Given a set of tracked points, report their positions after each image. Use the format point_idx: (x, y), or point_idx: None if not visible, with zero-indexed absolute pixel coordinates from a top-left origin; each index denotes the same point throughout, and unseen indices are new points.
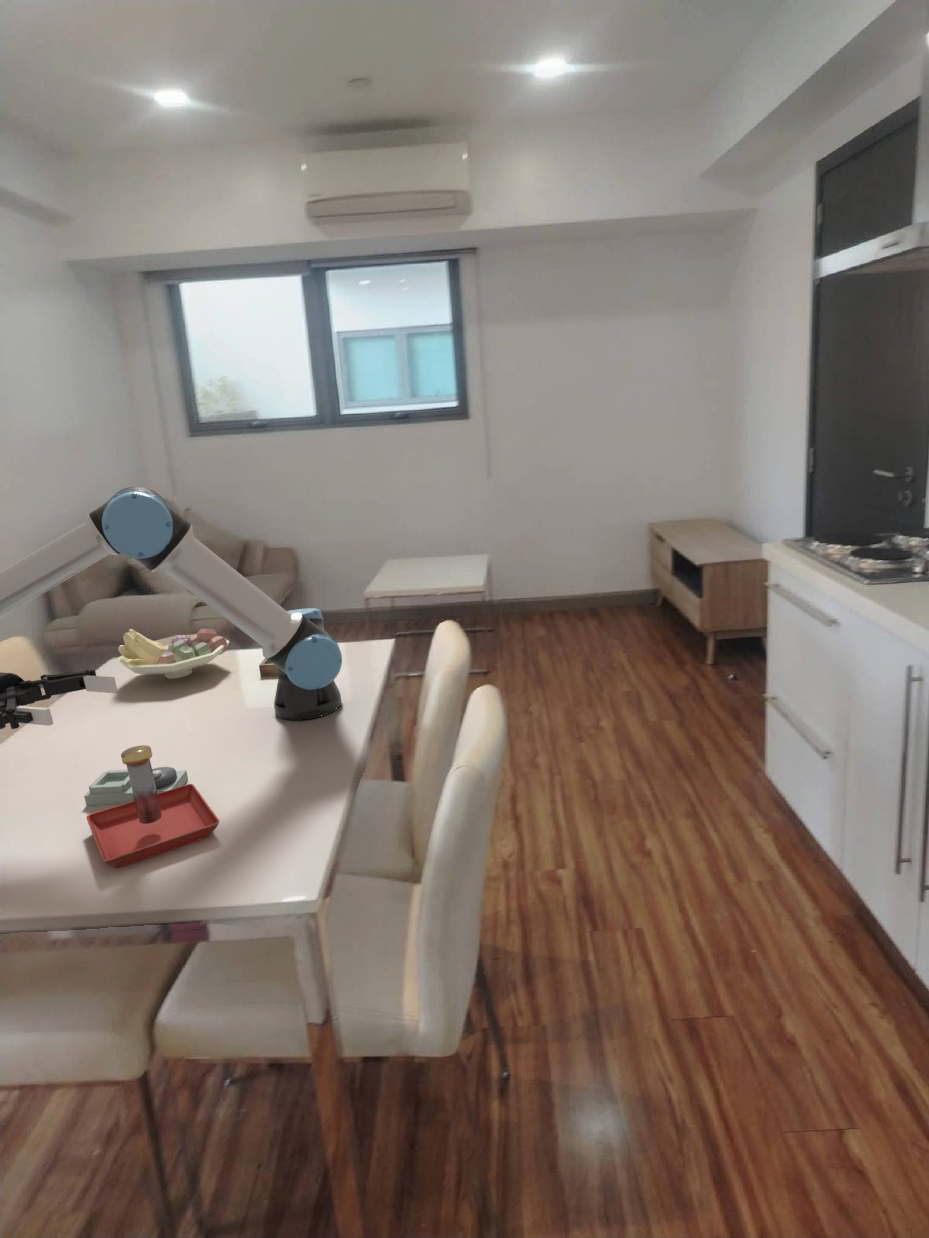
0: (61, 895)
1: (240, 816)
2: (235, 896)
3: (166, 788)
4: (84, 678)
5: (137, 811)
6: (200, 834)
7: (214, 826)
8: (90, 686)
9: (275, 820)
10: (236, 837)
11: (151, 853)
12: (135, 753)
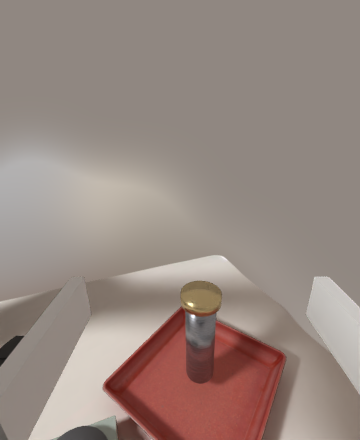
0: (338, 392)
1: (150, 319)
2: (238, 276)
3: (106, 429)
4: (1, 405)
5: (213, 363)
6: None
7: None
8: (34, 400)
9: (153, 295)
10: None
11: (237, 344)
12: (206, 289)
